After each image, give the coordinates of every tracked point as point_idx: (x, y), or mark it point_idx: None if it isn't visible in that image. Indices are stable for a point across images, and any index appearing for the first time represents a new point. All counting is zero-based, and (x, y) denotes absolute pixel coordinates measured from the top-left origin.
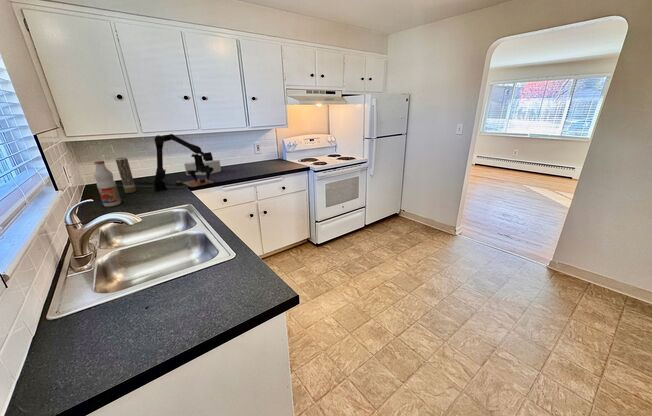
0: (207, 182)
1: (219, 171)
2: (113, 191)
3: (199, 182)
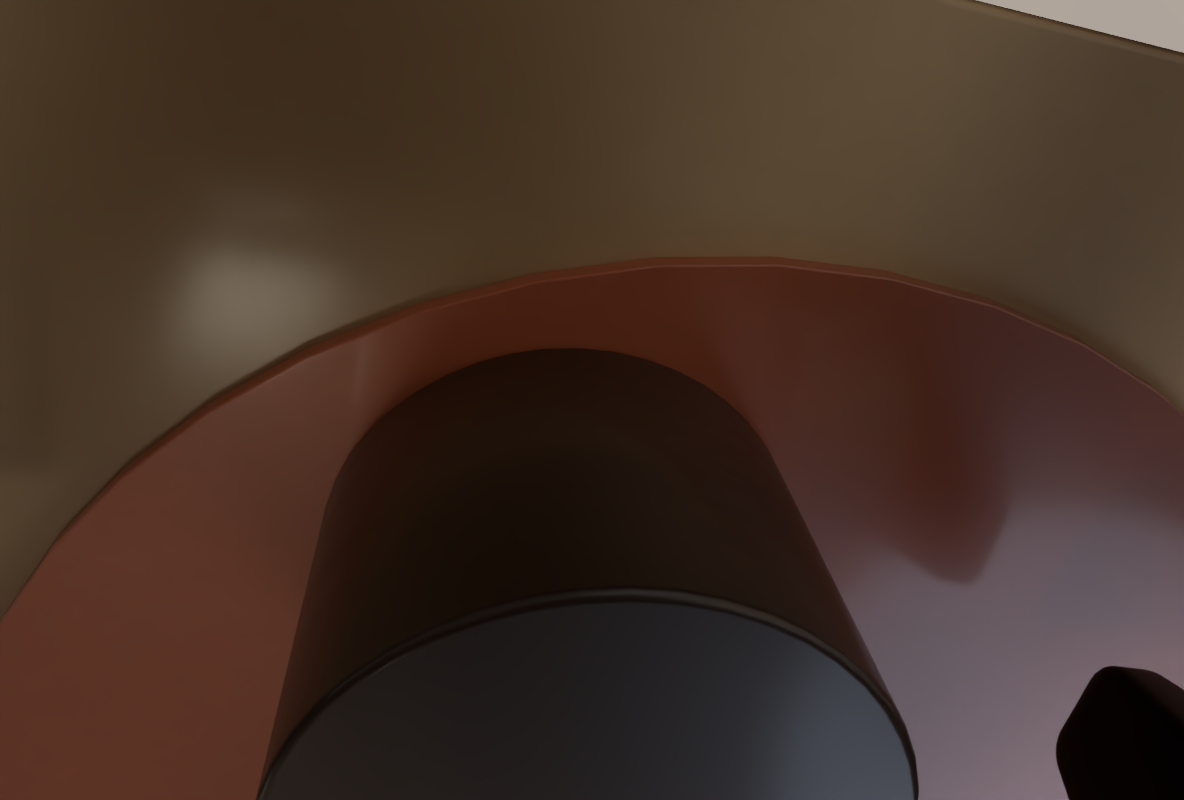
0: (259, 203)
1: None
2: None
3: None
